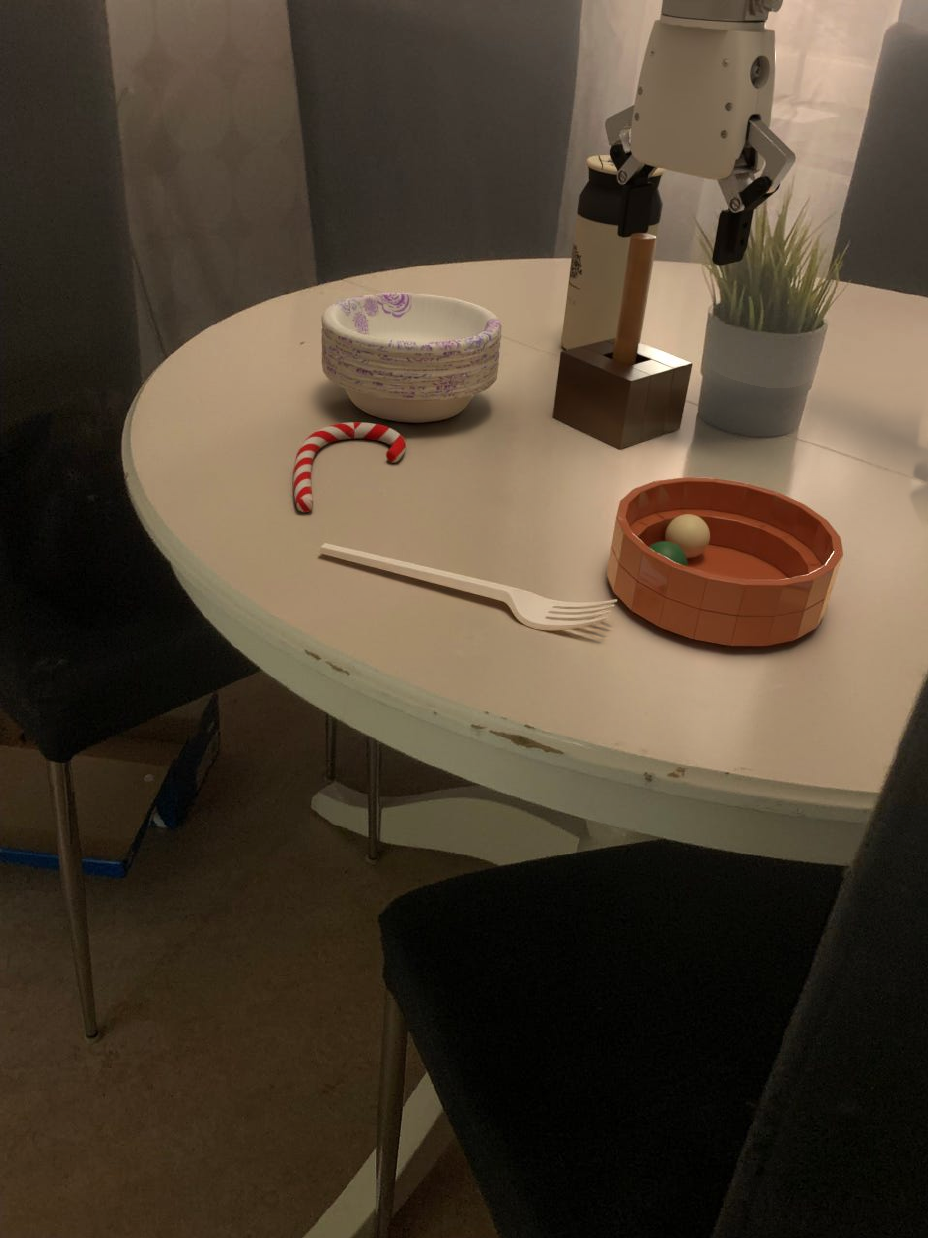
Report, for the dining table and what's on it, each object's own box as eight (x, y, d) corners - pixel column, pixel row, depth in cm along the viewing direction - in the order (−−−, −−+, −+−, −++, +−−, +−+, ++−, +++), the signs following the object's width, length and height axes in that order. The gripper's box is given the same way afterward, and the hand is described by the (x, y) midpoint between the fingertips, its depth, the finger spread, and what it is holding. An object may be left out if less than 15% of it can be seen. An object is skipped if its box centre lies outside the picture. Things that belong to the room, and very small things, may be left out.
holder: (612, 398, 100) (622, 335, 96) (680, 428, 95) (693, 363, 91) (552, 417, 95) (560, 350, 92) (619, 449, 90) (631, 380, 87)
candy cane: (257, 491, 76) (323, 413, 89) (258, 507, 77) (323, 427, 89) (363, 508, 75) (415, 427, 88) (363, 525, 76) (414, 441, 88)
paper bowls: (383, 360, 104) (386, 276, 99) (524, 399, 98) (533, 312, 93) (285, 408, 92) (283, 316, 88) (437, 455, 86) (443, 360, 82)
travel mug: (639, 341, 114) (669, 159, 104) (636, 367, 107) (668, 175, 97) (564, 332, 114) (587, 150, 105) (556, 356, 108) (580, 165, 98)
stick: (614, 417, 96) (644, 231, 87) (630, 425, 95) (661, 237, 86) (598, 421, 95) (625, 233, 86) (613, 429, 94) (643, 240, 85)
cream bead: (715, 534, 75) (672, 540, 76) (705, 502, 73) (662, 508, 74) (713, 564, 73) (669, 569, 74) (703, 531, 71) (658, 538, 72)
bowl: (695, 521, 80) (708, 460, 77) (864, 606, 72) (885, 541, 69) (562, 578, 72) (571, 511, 69) (735, 682, 63) (753, 610, 61)
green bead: (654, 588, 72) (624, 565, 71) (681, 552, 72) (651, 527, 71) (676, 601, 70) (645, 577, 68) (704, 563, 69) (673, 538, 68)
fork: (331, 544, 73) (331, 520, 72) (615, 620, 68) (619, 595, 67) (308, 566, 71) (308, 541, 70) (601, 647, 65) (605, 621, 64)
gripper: (850, 13, 74) (796, 267, 83) (656, -7, 84) (627, 220, 94) (787, 14, 70) (737, 282, 79) (590, -8, 80) (567, 230, 89)
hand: (678, 248), depth 86 cm, fingers open, 9 cm apart
